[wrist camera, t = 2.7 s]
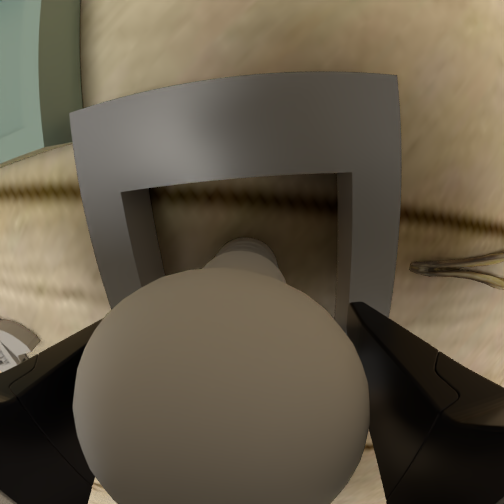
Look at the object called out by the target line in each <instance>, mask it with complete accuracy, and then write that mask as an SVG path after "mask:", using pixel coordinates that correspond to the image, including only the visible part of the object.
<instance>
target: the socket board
mask: <svg viewBox="0 0 504 504" xmlns="http://www.w3.org/2000/svg"><path fill="white" fill-rule="evenodd" d="M69 116H70V126H71V134H72V142H73V150H74V157H75V163H76V169H77V175H78V181H79V187H80V192H81V197H82V202H83V207H84V212H85V216H86V221H87V225H88V229H89V233H90V238H91V242H92V246H93V249H94V253H95V257H96V261H97V264H98V268H99V271H100V275H101V278H102V281H103V285H104V288H105V291H106V294H107V298H108V301H109V304H110V307H111V310H112V309H113V308H114V307H115V306H116V305H117V304H119V303H120V302H121V301H122V300H123V299H124V298H126V297H128V296H129V295H131V294H132V293H134V292H135V291H137V290H138V289H140V288H142V287H144V286H146V285H147V284H149V283H151V282H153V281H155V280H157V279H159V278H161V277H164V276H165V273H164V268H163V264H162V259H161V254H160V249H159V244H158V239H157V234H156V229H155V223H154V218H153V212H152V207H151V201H150V195H149V189H148V188H153V187H161V186H169V185H177V184H185V183H195V182H204V181H214V180H225V179H236V178H248V177H262V176H277V175H295V174H316V173H337V197H338V247H337V284H336V306H335V321H336V322H337V323H338V325H339V326H340V327H341V328H342V330H343V331H344V332H345V334H346V335H347V329H346V326H347V314H348V305H349V303H350V302H359V301H362V302H364V303H366V304H367V305H369V306H371V307H372V308H374V309H375V310H377V311H378V312H380V313H382V314H383V315H385V316H386V317H388V318H389V313H390V307H391V300H392V293H393V285H394V277H395V269H396V260H397V249H398V237H399V223H400V205H401V123H400V105H399V91H398V80H397V75H389V74H376V73H360V72H284V73H267V74H254V75H243V76H234V77H225V78H218V79H210V80H203V81H197V82H191V83H185V84H179V85H174V86H169V87H164V88H159V89H154V90H150V91H145V92H141V93H137V94H133V95H129V96H125V97H121V98H117V99H113V100H110V101H106V102H103V103H99V104H96V105H93V106H89V107H86V108H83V109H80V110H77V111H74V112H71V113H69Z"/></svg>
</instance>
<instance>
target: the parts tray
mask: <svg viewBox="0 0 504 504" xmlns="http://www.w3.org/2000/svg"><path fill="white" fill-rule="evenodd" d="M80 1H81V0H0V168H1V167H4V166H6V165H9V164H12V163H14V162H17V161H20V160H23V159H25V158H28V157H31V156H34V155H37V154H40V153H43V152H46V151H49V150H52V149H56V148H59V147H62V146H65V145H69V144H72V143H73V142H72V134H71V126H70V116H69V113H71V112H74V111H77V110H80V109H83V105H82V93H81V76H80Z"/></svg>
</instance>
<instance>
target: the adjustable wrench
mask: <svg viewBox="0 0 504 504" xmlns="http://www.w3.org/2000/svg"><path fill="white" fill-rule="evenodd" d="M39 342H40V340H39V338H38V337H37V336H36V335H35V334H34V333H33V332H31V331H30V330H28V329H27V328H25V327H24V326H22V325H20V324H18V323H16V322H13V321H9V320H3V319H2V320H1V319H0V371H1V372H4V371H6V370H8V369H10V368H12V367H14V366H16V365H18V364H20V363H22V362H24V361H26V360H28V358H27V356H26V355H25V353H29V352H31V351H32V350H33V349H34V348H35V347H36V345H37V344H38V343H39Z"/></svg>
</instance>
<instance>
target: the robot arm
mask: <svg viewBox="0 0 504 504" xmlns="http://www.w3.org/2000/svg"><path fill="white" fill-rule="evenodd" d="M103 319H104V318H103ZM103 319H101V320H99V321H97V322H95V323H94V324H92V325H90V326H88V327H86V328H84V329H83V330H81V331H79V332H77V333H75V334H73V335H72V336H70V337H68V338H66V339H64V340H62V341H61V342H59V343H57V344H55V345H53V346H51V347H50V348H48V349H46V350H44V351H42V352H40V353H39V355H38V354H37V355H35V356H33V357H31V358H29V359H28V360H26V361H24V362H22V363H20V364H18V365H16V366H14V367H12V368H10V369H8V370H6V371H4V372H2V373H0V504H88V500H89V497H90V493H91V489H92V485H93V482H94V478H95V476H94V474H93V473H92V471H91V470H90V468H89V466H88V463H87V461H86V459H85V456H84V454H83V451H82V448H81V446H80V443H79V439H78V436H77V432H76V426H75V420H74V414H73V398H74V389H75V382H76V374H77V368H78V365H79V362H80V360H81V357H82V354H83V352H84V349H85V347H86V345H87V343H88V341H89V339H90V338H91V336H92V334H93V332H94V330H95V329H96V328H97V326H98V325H99V324H100V322H101V321H102V320H103ZM346 329H347V336H348V338H349V339H350V340H351V342H352V343H353V345H354V347H355V349H356V351H357V354H358V356H359V358H360V360H361V362H362V365H363V368H364V372H365V375H366V378H367V381H368V389H369V400H370V425H369V431H370V435H371V439H372V443H373V447H374V451H375V455H376V459H377V463H378V467H379V471H380V475H381V480H382V484H383V488H384V493H385V497H386V500H387V501H386V503H387V504H504V388H503V387H501V386H500V385H498V384H496V383H494V382H492V381H490V380H488V379H486V378H484V377H482V376H481V375H479V374H477V373H475V372H473V371H471V370H470V369H468V368H466V367H464V366H462V365H461V364H459V363H458V362H456V361H454V360H453V359H451V358H450V357H448V356H446V355H445V354H443V353H442V352H438V350H437V349H436V348H434V347H433V346H431V345H430V344H428V343H426V342H425V341H423V340H422V339H420V338H419V337H417V336H416V335H414V334H413V333H411V332H410V331H408V330H406V329H405V328H403V327H402V326H400V325H399V324H397V323H396V322H394V321H392V320H391V319H389V318H388V317H386V316H385V315H383V314H382V313H380V312H378V311H377V310H375V309H374V308H372V307H371V306H369V305H367V304H366V303H364V302H362V301H359V302H350V303H349V305H348V314H347V326H346Z"/></svg>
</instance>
